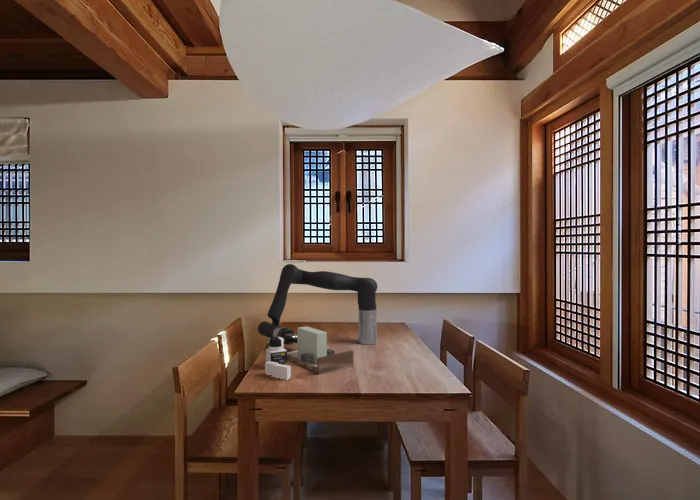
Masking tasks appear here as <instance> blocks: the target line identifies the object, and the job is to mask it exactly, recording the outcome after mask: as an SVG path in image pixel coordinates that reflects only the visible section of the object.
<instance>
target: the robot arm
mask: <svg viewBox="0 0 700 500" xmlns="http://www.w3.org/2000/svg"><path fill="white" fill-rule="evenodd" d="M291 285H304V286H305V285H306V286H311V287H315V288H319V289H325V290H329V291H352V292H356V293H357V305H358V343H359V344H361V345H376V344H377V340H378V338H377V337H378V336H377V335H378V334H377V333H378V331H377V330H378V324H377V301H376V299H377V298H376V292H377V290H378V283H377V282H376V280H375V279H373V278H371V277H357V276H350V275H347V274H342V273H339V272H333V271H325V270H324V271H323V270H321V271H320V270H319V271H308V270H307V271H306V270H303V269H300V268H298V267H297V266H296V265H295V264H294V263H293V264H291V263H288V264H286V265H284V266H283V267H282V269H281V272H280V276H279V280H278V283H277V288H276V291H275V294H274V296H273V299H272V302H271V305H270V306H269V310H268V311H267V317H268V318H269V319H270V320H271V323H270V322H269V321H265V320H264V321H261V322H260V323H259V324H258V326H257V331H258V332H257V333H258V334H259V335H261V336H265V337H267V338H269V339H270V338H272V337H281V338H283V345H287V346H288V345H290V344H291V345H292V344H298V343H297V333H295V331H294V330H292V329H291V328H287V327H284V326H280V323H281V318H282V314H283V312H284V310H285V306H286V302H287V298H288V297H287V296H288V292H289V289H290V287H291Z"/></svg>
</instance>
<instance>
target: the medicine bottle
mask: <svg viewBox="0 0 700 500" xmlns="http://www.w3.org/2000/svg"><path fill="white" fill-rule="evenodd" d="M284 346H285V344H283V338H281V337H272V338H269V339H268V347H267V348H265V363H266V362H268V361H271V362H277V363H278V364H282V365H288V360H287V352H288V350H287V349H286V348H284Z"/></svg>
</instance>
